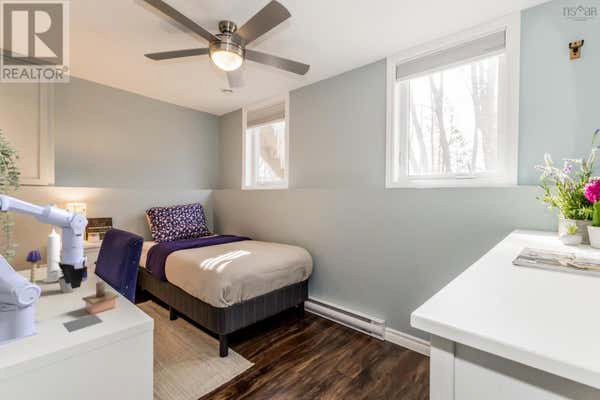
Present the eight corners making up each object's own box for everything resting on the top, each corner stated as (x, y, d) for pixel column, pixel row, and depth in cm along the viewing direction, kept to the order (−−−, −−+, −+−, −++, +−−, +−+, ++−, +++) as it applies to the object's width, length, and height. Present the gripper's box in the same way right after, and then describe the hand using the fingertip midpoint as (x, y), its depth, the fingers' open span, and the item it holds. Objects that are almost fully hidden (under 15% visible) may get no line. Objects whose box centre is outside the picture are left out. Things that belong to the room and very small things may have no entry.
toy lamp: (40, 286, 118) (40, 249, 117) (42, 289, 115) (42, 251, 114) (25, 289, 114) (25, 251, 114) (26, 292, 111) (26, 253, 111)
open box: (91, 315, 91) (91, 304, 91) (85, 310, 95) (85, 299, 95) (115, 308, 96) (115, 298, 96) (108, 303, 101) (108, 293, 101)
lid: (92, 304, 90) (92, 288, 90) (82, 300, 94) (82, 284, 94) (118, 297, 97) (118, 281, 97) (107, 293, 101) (107, 278, 101)
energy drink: (79, 282, 124) (79, 257, 124) (70, 281, 125) (70, 256, 125) (90, 278, 129) (90, 254, 129) (81, 278, 130) (81, 254, 130)
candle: (47, 279, 128) (47, 228, 127) (65, 277, 131) (65, 227, 130) (40, 283, 121) (40, 230, 121) (60, 281, 124) (60, 229, 124)
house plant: (34, 295, 108) (33, 255, 108) (70, 284, 121) (70, 249, 121) (60, 298, 105) (60, 258, 104) (94, 287, 118) (94, 251, 118)
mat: (69, 333, 79) (69, 332, 79) (62, 324, 84) (62, 323, 84) (103, 322, 86) (103, 321, 86) (94, 315, 91) (94, 314, 91)
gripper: (93, 247, 91) (93, 286, 91) (81, 242, 100) (81, 278, 100) (66, 251, 85) (67, 292, 86) (56, 245, 94) (56, 283, 94)
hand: (72, 285), depth 92 cm, fingers open, 7 cm apart
